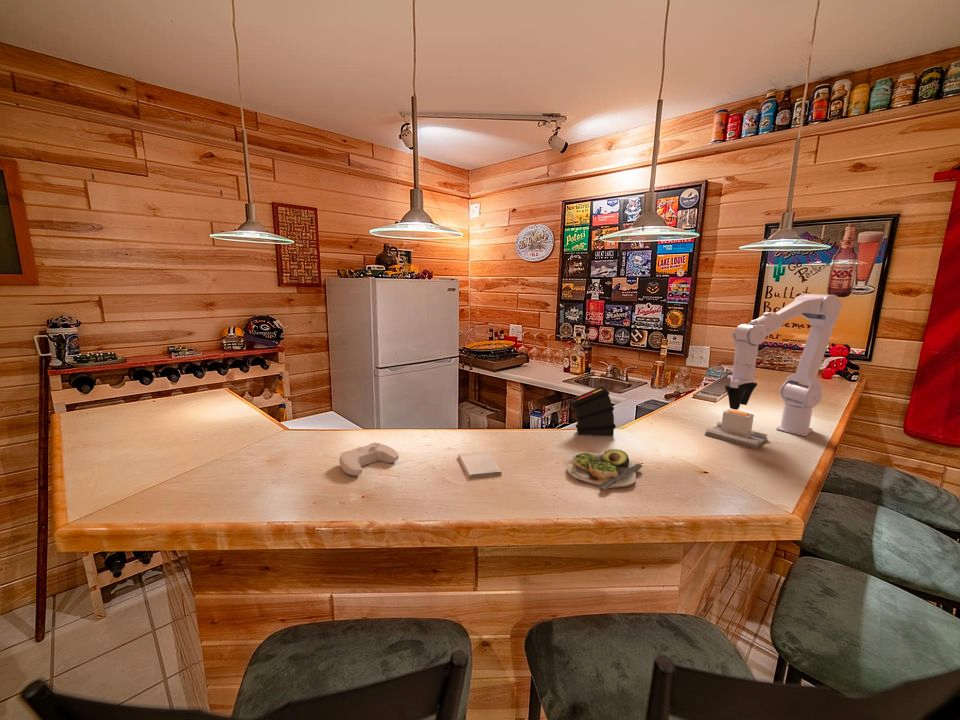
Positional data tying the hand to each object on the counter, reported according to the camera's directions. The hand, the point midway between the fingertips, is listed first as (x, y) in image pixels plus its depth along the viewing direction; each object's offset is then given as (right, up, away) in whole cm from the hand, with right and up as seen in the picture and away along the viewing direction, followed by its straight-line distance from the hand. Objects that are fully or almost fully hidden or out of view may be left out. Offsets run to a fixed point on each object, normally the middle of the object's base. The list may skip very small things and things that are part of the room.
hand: (738, 406), depth 131 cm
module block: (-1, -9, 0) cm, 9 cm away
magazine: (-46, -9, +1) cm, 46 cm away
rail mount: (-1, -10, 0) cm, 10 cm away
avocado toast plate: (-49, -14, -25) cm, 57 cm away
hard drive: (-81, -13, -23) cm, 85 cm away
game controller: (-109, -13, -24) cm, 112 cm away
